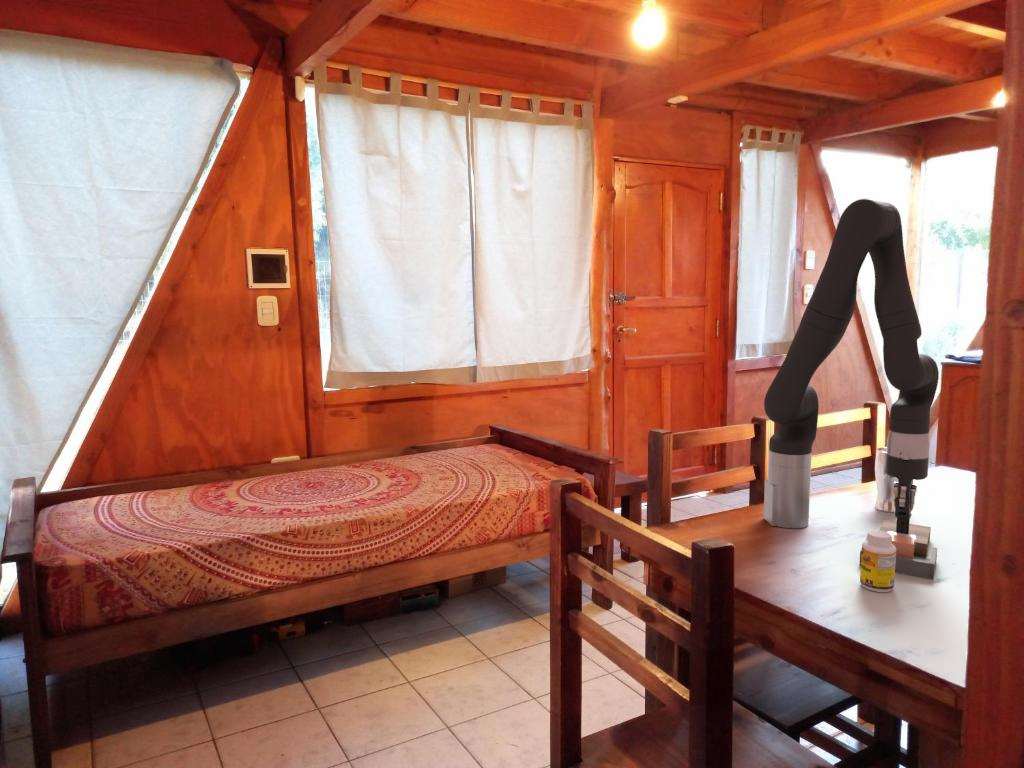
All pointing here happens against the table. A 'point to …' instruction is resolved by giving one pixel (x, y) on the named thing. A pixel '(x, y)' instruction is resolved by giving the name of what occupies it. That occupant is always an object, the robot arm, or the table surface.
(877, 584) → the supplement bottle
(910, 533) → the walnut board
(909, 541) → the terracotta tile
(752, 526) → the table surface
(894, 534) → the grey tile
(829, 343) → the robot arm
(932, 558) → the charcoal tray
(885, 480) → the beer glass
